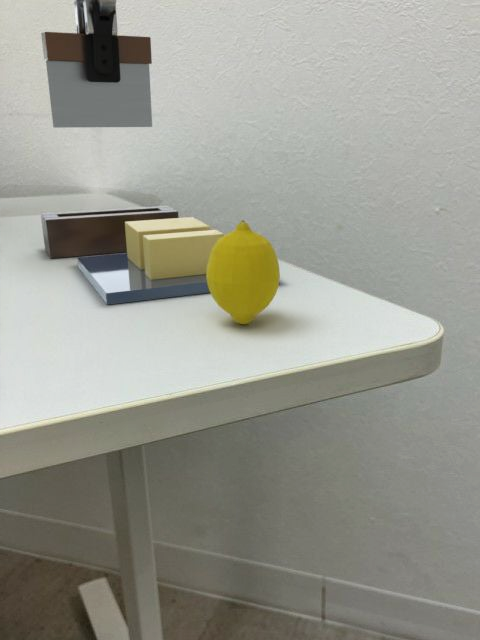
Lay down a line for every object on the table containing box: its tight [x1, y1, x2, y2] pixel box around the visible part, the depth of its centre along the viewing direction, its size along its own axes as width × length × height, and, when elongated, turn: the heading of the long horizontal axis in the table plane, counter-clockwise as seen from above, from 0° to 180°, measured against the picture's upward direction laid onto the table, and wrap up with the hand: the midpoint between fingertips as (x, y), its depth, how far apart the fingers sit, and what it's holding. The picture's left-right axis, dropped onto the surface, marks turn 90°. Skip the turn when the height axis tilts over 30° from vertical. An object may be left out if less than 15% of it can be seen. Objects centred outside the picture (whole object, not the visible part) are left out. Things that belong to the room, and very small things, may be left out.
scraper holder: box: [40, 205, 179, 259], centre depth 72 cm, size 14×4×4 cm, turn 116°
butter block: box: [125, 216, 211, 270], centre depth 64 cm, size 7×5×4 cm
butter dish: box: [76, 252, 211, 306], centre depth 63 cm, size 16×13×1 cm
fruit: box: [206, 219, 281, 325], centre depth 50 cm, size 6×6×8 cm
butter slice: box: [143, 229, 225, 280], centre depth 60 cm, size 7×2×4 cm, turn 116°
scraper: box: [40, 31, 153, 129], centre depth 66 cm, size 10×2×8 cm, turn 116°
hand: (100, 80), depth 66 cm, fingers closed on scraper, 2 cm apart
